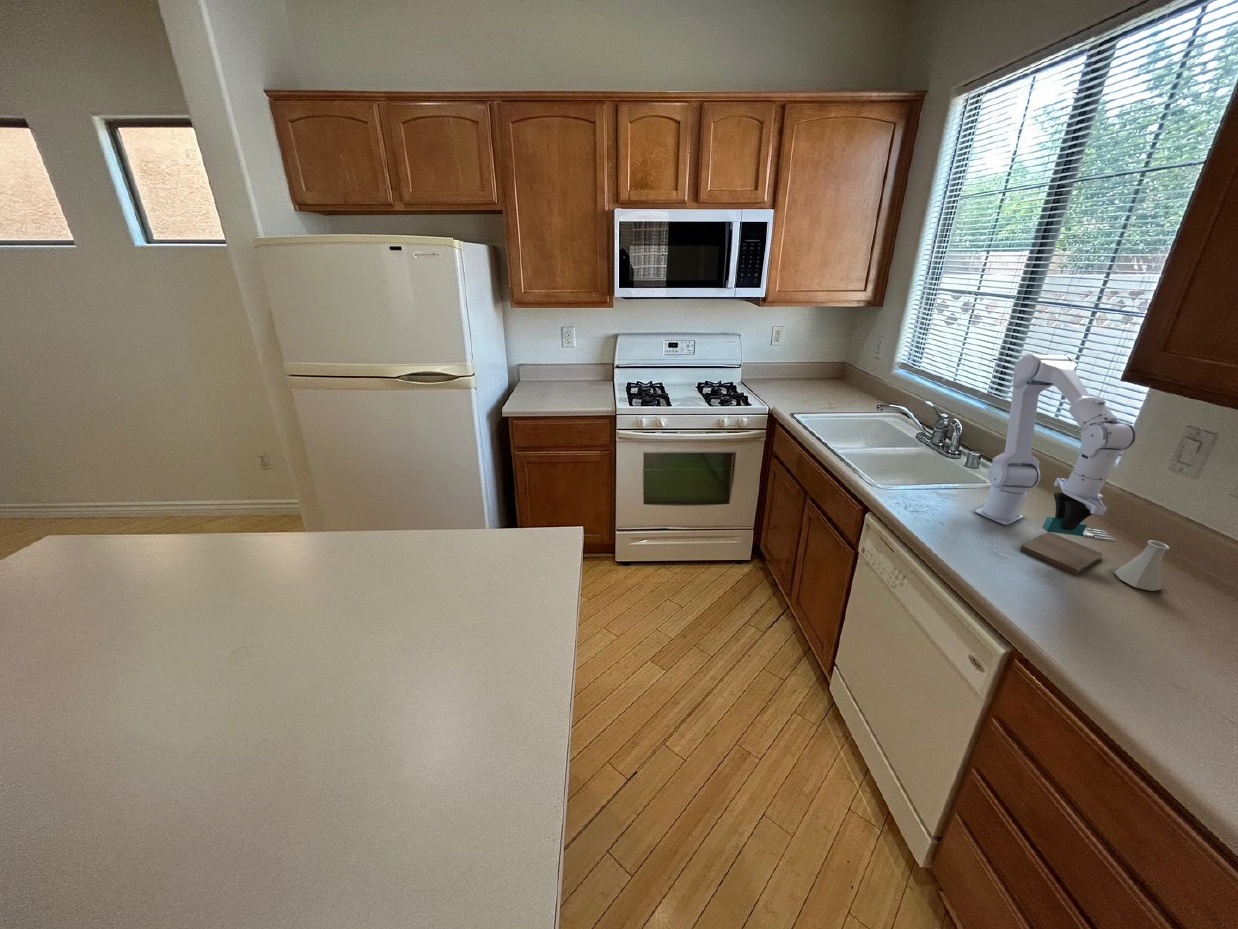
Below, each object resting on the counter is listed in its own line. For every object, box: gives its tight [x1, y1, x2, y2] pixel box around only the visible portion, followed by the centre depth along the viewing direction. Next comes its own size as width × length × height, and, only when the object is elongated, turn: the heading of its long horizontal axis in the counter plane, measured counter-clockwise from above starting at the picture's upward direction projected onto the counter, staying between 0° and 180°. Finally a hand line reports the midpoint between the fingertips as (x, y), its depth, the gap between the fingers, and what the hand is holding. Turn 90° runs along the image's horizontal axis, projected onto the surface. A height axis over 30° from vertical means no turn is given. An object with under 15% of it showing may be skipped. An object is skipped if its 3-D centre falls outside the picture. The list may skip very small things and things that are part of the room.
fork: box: [1041, 516, 1117, 544], centre depth 110 cm, size 13×4×3 cm, turn 76°
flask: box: [1113, 539, 1171, 592], centre depth 104 cm, size 7×7×10 cm
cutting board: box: [1019, 531, 1104, 576], centre depth 115 cm, size 14×11×2 cm
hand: (1063, 526), depth 111 cm, fingers closed on fork, 2 cm apart
